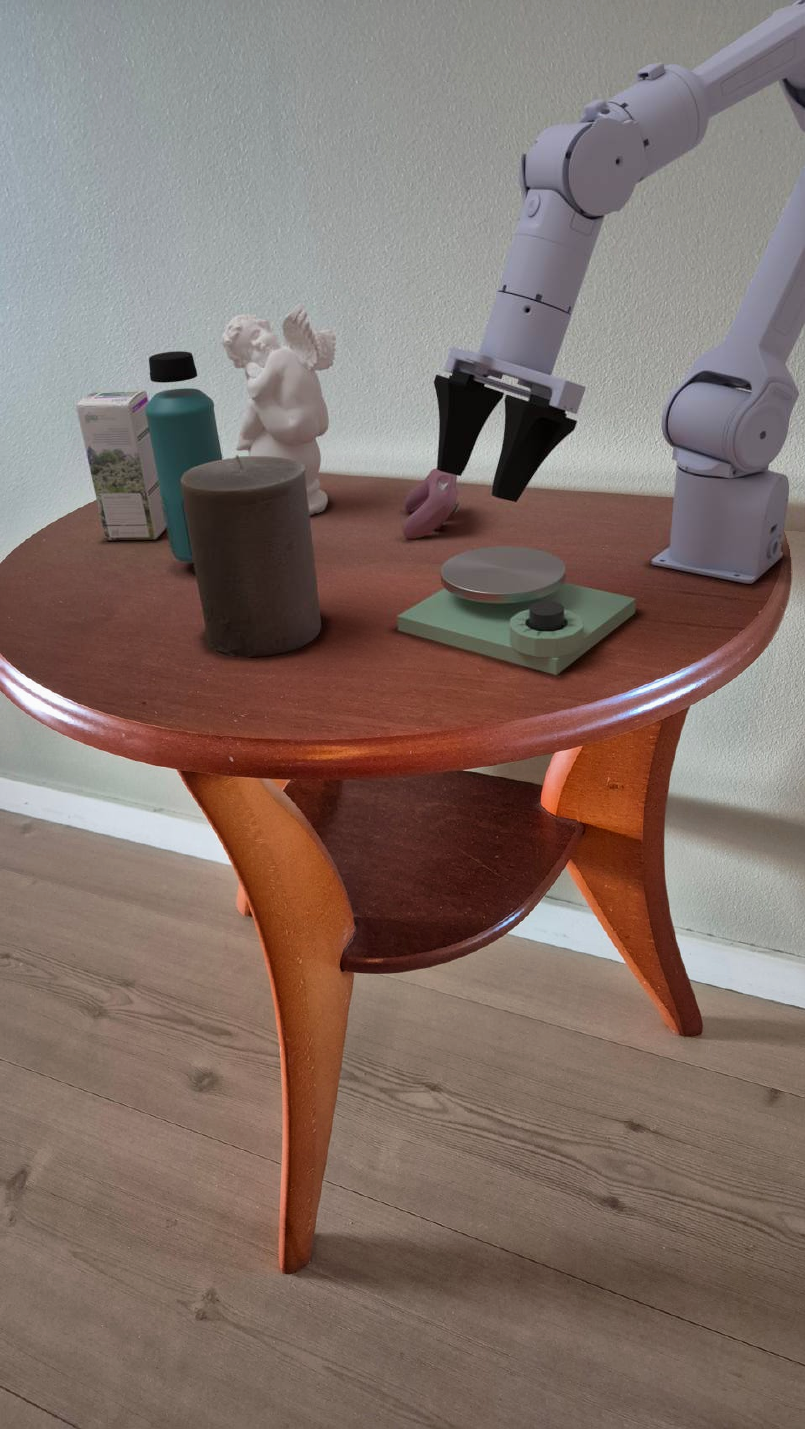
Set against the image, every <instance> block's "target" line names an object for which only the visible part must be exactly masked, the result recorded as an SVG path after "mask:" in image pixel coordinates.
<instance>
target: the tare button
mask: <svg viewBox="0 0 805 1429" xmlns="http://www.w3.org/2000/svg"><path fill="white" fill-rule="evenodd" d="M529 627H530V629H532V630H536V631H542V632H553V631H557V630H561V629H563V627H564V606H563V605H561V604H559V603H557V602H551V601H542V602H537V603H534V604H532V605H531V606H530V608H529Z"/></svg>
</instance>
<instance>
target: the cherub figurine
mask: <svg viewBox="0 0 805 1429" xmlns="http://www.w3.org/2000/svg"><path fill="white" fill-rule="evenodd" d="M302 303H303V302H302V301H300V302H298V304H296V305H295V306H294V307H293V308H292V309H291V311H290V312H289V313H287V314H285V316H284V317H283V320H282V323H281V329H282V335H283V336H282V337H284V338H283V339H282V340H279V337H278V336H277V335H276V334H275V332H274V330H273V328H272V327H271V326H270V323H269V321H268V320H267V319H262V318H260V317H259V316H258V314H257V313H256V314H252V315H251V314H249V313H247V314H237V315H236V316H234V317H233V318H231V320H229V322H228V323H227V324H225V326H224V329H225V330H224V332H223V333H222V334H221V336H220V337H221V340H220V342H221V344H222V346H223V348H224V350H225V352H226V355H227V358H228V359H229V360H231V361H232V364H233V366H234V368H235V369H244V375H245V378H246V380H247V386H246V389H247V392H248V395H249V397H250V398H249V399H248V400H249V401H248V405H247V409H246V411H245V413H244V417H243V420H242V424H241V426H240V430H239V435H238V438H237V443H236V448H235V449H236V451H238V452H240V451H241V452H242V451H247V452H248V456H271V457H282V458H288V459H291V460H296V461H297V462H298V463H300V464H303V465H305V467H306V468H305V469H306V471H305V481H306V490H307V499H308V506H309V515H310V516H312V515H314V514H319V513H320V512H321V513H322V512H324V510H326V507H327V505H328V502H329V498H328V494H327V493H326V492H325V491H323V490H321V489H320V487H321V482H320V480H319V478H317V476H318V475H319V471H320V468H321V462H322V458H321V450H320V446H319V443H318V442H317V437H322V436H323V435H325V434H326V433H327V431H328V430H329V424H330V421H329V420H330V419H329V418H330V417H329V411H328V407H327V404H326V401H325V399H324V397H323V396H324V395H323V391H322V385H321V382H320V379H319V377H318V376H319V375H318V374H317V372H316V371H319V372H321V371H326V370H329V369H330V367H333V366H334V360H335V355H336V353H335V352H336V345H337V343H336V336H335V334H332V333H333V331H332V330H331V329H330V328H325V329H323V330H319V329H316V328H313V327H311V326H310V325H311V323H310V321H309V319H308V318H307V317H308V313H307V310H305V309H304V310H303V304H302ZM281 342H284V343H285V345H287V346H285V345H282V344H281Z"/></svg>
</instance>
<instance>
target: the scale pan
mask: <svg viewBox="0 0 805 1429" xmlns="http://www.w3.org/2000/svg"><path fill="white" fill-rule="evenodd" d="M439 574H440V584H441V585H442V587H443V589H444V588H445V589H446V590H447V591H448V592H450V593H452V594H454V595H456V596H458V597H461V598H464V599H467V600H472V601H477V602H485V603H516V602H524V601H530V600H534V599H538V598H542V597H544V596H547V595H549V594H552V593H554V592H555V591H557V590H558V589H559V588H561V587H562V585H563V584H564V582H565V583H566V580H567V579H566V578H567V567H566V564H565V562H564V561H563V560H562V559H561V558H560V557H558V556H556V555H554V554H553V553H551V552H548V551H544V550H541V549H537V548H532V547H526V546H516V545H515V546H513V545H501V546H500V545H499V546H488V547H480V548H475V549H470V550H466V551H463V552H460V553H458V554H456V555H454V556H451V557H450V558H449V559H447V560H445V562H444V563H442V566H441V568H440V573H439Z"/></svg>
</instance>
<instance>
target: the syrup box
mask: <svg viewBox="0 0 805 1429" xmlns="http://www.w3.org/2000/svg"><path fill="white" fill-rule="evenodd" d="M149 401H150V400H149V396H148V392H147V391H146V390H143V389H141V390H123V391H122V390H118V391H94V392H92V393H89V394H87V395H86V396H84V397H83V398H82V399H80V400H79V401H78V402H77V403H76V404H75V406H76V407H75V409H76V412H77V413H76V414H77V418H78V422H79V426H80V431H81V435H82V440H83V442H84V443H83V444H84V448H85V453H86V458H87V462H88V468H89V472H90V476H91V481H92V485H93V490H94V494H95V499H96V503H97V508H98V513H99V517H100V521H101V524H102V525H101V526H102V530H103V536H104V539H105V541H147V540H149V541H150V540H151V541H152V540H157V539H158V537H159V536H161V534H162V533H163V532H164V531H166V529H165V527H167V525H166V521H165V520H164V519H165V516H164V515H165V514H164V511H163V510H162V509H163V508H162V507H163V504H162V503H161V502H162V501H161V500H162V499H161V494H160V493H159V492H160V489H159V483H158V475H157V470H156V465H155V459H154V454H153V449H152V443H151V438H150V433H149V427H148V422H147V417H146V414H145V407H146V406H147V404H148V402H149ZM160 499H161V500H160ZM163 514H164V515H163ZM163 517H164V518H163ZM164 522H165V523H164Z"/></svg>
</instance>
